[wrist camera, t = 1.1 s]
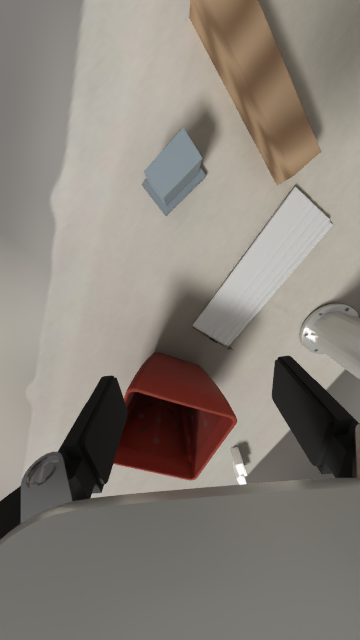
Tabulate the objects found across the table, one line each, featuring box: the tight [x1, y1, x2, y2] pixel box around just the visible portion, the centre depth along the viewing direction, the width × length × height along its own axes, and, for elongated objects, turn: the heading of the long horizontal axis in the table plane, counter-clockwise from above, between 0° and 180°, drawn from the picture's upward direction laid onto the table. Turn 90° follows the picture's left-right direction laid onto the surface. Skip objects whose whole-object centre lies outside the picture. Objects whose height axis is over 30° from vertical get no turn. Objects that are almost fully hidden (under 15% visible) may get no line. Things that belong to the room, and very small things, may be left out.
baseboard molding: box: [193, 187, 333, 350], centre depth 37 cm, size 31×3×12 cm
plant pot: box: [113, 352, 237, 480], centre depth 39 cm, size 19×19×17 cm
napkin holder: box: [231, 447, 247, 485], centre depth 59 cm, size 15×11×6 cm
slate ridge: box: [142, 128, 206, 216], centre depth 27 cm, size 6×9×7 cm, turn 130°
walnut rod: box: [189, 0, 321, 185], centre depth 25 cm, size 24×4×5 cm, turn 41°
